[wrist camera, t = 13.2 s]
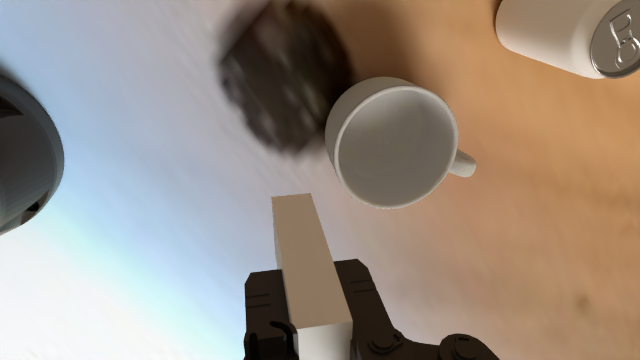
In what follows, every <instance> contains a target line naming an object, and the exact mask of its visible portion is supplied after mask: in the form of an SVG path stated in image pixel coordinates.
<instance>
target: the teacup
mask: <svg viewBox="0 0 640 360" xmlns="http://www.w3.org/2000/svg"><path fill="white" fill-rule="evenodd" d="M325 143H326V148H327V152H328V155H329V158H330V161H331V163H332V165H333V167H334V169H335V172H336V175H337V177H338V179H339V181H340V183H341V185H342V186H343V188H344V189H345V190H346V191H347V193H348V194H349V195H351V196H352V197H353V198H354V199H356V200H357V201H359V202H360V203H362V204H365V205H367V206H370V207H373V208H379V209H382V208H384V209H393V208H401V207H405V206H408V205H410V204H413V203H415V202H417V201H419V200H421V199H423V198H424V197H425V196H427V195H428V194H430V193H431V192H432V191H433V190H434V189H435V188H436V187H437V186H438V185H439V184H440V183H441V181H442V180H443V179H444V177H445V176H446V175H447V173H448V172H450V173H453V174H455V175H458V176H461V177H469V176H471V175H472V174H473V173H474V171H475V169H476V161H475V160H474V159H473V158H472V157H471V156H469V155H467V154H466V153H464V152H462V151H460V150H458V149H457V144H458V128H457V123H456V119H455V117H454V114H453V112H452V111H451V109H450V107H449V106H448V105H447V103H446V102H445V101H444V100H443V99H442V98H440V97H439V96H438V95H437V94H435V93H434V92H432V91H430V90H428V89H425V88H423V87H420V86H417V85H415V84H413V83H411V82H408V81H405V80H402V79H399V78H394V77H375V78H370V79H366V80H364V81H361V82H359V83H357V84H355V85H354V86H352V87H351V88H349V89H348V90H347V91H346V92H344V93H343V94H342V95H341V96H340V98H339V99H338V100H337V101H336V103H335V104H334V106H333V108H332V109H331V111H330V114H329V116H328V119H327V123H326V129H325Z"/></svg>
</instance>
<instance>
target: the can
mask: <svg viewBox="0 0 640 360" xmlns="http://www.w3.org/2000/svg"><path fill="white" fill-rule="evenodd" d="M495 26H496V33H497V37H498V39H499V41H500V42H501V44H502V45H503V46H504V47H506V48H507V49H509V50H511V51H513V52H516V53H519V54H521V55H524V56H527V57H530V58H532V59H535V60H538V61H541V62H544V63H546V64H549V65H552V66H555V67H558V68H561V69H564V70H566V71H569V72H572V73H575V74H578V75H581V76H584V77H588V78H594V79H599V78H611V79H617V78H622V77H626V76H628V75H630V74H632V73H634V72H636V71H637V70H639V69H640V0H503V1H502V2H501V4H500V6H499V9H498V12H497V16H496V23H495Z"/></svg>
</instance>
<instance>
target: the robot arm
mask: <svg viewBox="0 0 640 360" xmlns="http://www.w3.org/2000/svg"><path fill="white" fill-rule="evenodd" d="M63 170H64V152H63V147H62V143H61V140H60V137H59V134H58V132H57V130H56V128H55V126H54V124H53V122H52V121H51V119H50V118H49V116H48V115H47V113H46V112H45V111H44V110H43V108H42V107H41V106H40V105H39V104H38V103H37V102H36V101H35V100H34V99H33V98H32V97H31V96H30V95H29V94H28V93H27V92H25V91H24V90H23V89H22V88H20V87H19V86H18V85H16V84H15V83H13V82H12V81H10V80H9V79H7V78H5V77H3V76H2V75H0V235H2V234H4V233H6V232H8V231H11V230H13V229H15V228H17V227H19V226H21V225H23V224H24V223H26V222H27V221H29V220H30V219H32V218H33V217H34V216H35V215H37V214H38V213H39V212H40V211H41V210H42V209H43V208H44V206H45V205H46V204H47V203H48V201H49V200H50V198H51V197H52V196H53V194H54V193H55V191H56V190H57V188H58V186H59V184H60V182H61V179H62V175H63ZM271 198H272V212H273V227H274V241H275V255H276V262H277V270H269V271H261V272H253V273H250V275H249V277H248V279H247V281H246V283H245V307H246V333H245V337H244V349H245V357H244V360H500V359H499V358H498V357H497V356H496V355H495V354H494V353H493V352H492V351H491V350H490V349H489V348H488V347H487V346H486V345H485V344H484V343H482V342H481V341H480V340H478V339H477V338H474V337H472V336H470V335H466V334H458V333H457V334H452V335H448V336H447V337H445V338H444V339H442V341H441V343H440V345H431V344H423V343H418V342H414V341H411V340H409V339H406V338H405V337H404V336H403V334H402V333H401V332H399V331H398V330H397V329H395V328H394V327H393V325H392V323H391V321H390V319H389V316H388V314H387V312H386V309H385V307H384V305H383V302H382V300H381V298H380V296H379V293H378V291H377V290H376V286H375V284H374V282H373V280H372V277H371V275H370V272H369V270H368V268H367V267H366V266H365V265H364V264H363V263H361V262H360V261H359V260H358V259H351V260H343V261H335V262H333V260H332V257H331V254H330V251H329V248H328V245H327V241H326V238H325V235H324V232H323V229H322V226H321V223H320V220H319V217H318V214H317V211H316V208H315V205H314V202H313V199H312V196H311V193H308V194H298V195H288V196H277V197H271Z"/></svg>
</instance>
